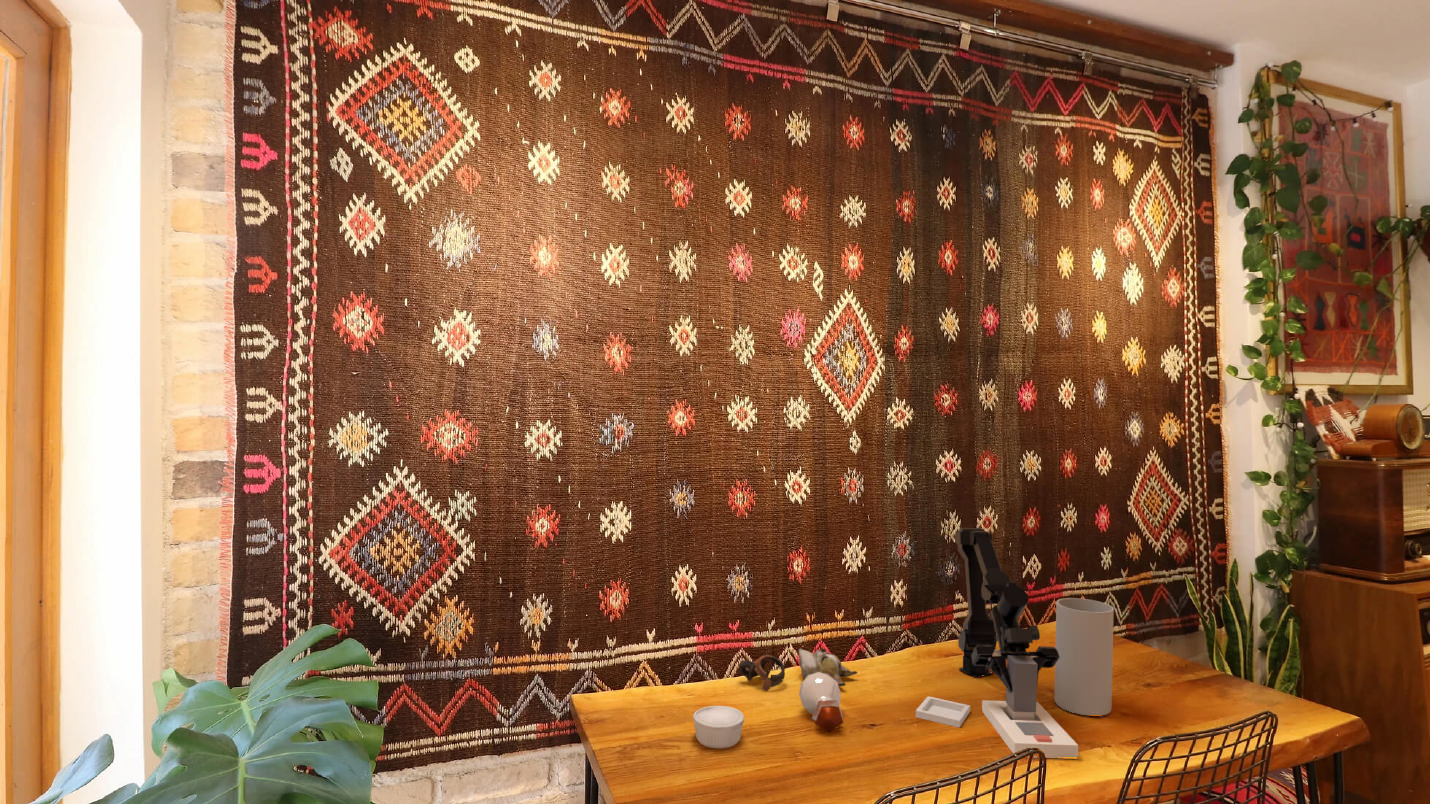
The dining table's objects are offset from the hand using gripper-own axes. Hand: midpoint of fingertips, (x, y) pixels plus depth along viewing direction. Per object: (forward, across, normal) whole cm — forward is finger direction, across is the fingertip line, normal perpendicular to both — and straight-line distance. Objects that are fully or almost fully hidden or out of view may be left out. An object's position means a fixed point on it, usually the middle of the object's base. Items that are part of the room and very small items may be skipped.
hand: (1023, 691), depth 171 cm
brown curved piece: (-9, -59, +22) cm, 63 cm away
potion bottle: (+5, -45, +8) cm, 46 cm away
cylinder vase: (-4, +19, +16) cm, 25 cm away
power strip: (+8, 0, +4) cm, 9 cm away
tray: (+2, -16, +10) cm, 19 cm away
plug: (+3, 0, +5) cm, 6 cm away
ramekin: (+13, -69, -1) cm, 70 cm away
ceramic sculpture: (-12, -42, +24) cm, 50 cm away
